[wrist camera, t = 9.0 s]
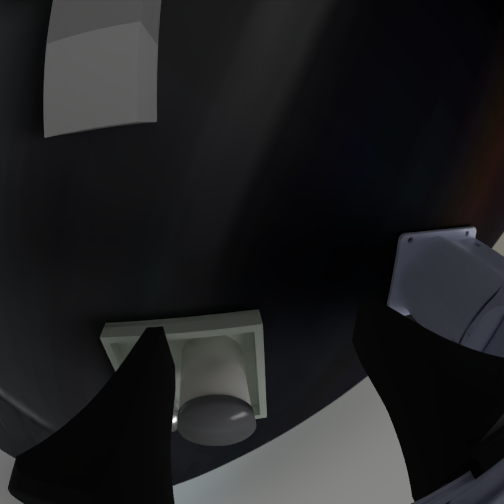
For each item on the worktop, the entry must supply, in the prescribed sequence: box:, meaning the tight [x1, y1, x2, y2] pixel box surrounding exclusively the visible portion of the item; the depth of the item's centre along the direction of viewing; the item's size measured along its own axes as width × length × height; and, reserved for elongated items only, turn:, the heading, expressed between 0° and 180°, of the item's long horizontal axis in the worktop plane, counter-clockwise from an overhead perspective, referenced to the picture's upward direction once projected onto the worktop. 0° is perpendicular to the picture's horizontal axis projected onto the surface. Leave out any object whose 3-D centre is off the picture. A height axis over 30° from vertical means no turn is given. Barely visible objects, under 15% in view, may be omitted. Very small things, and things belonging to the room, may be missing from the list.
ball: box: [171, 398, 179, 432], centre depth 23 cm, size 4×4×4 cm
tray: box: [100, 309, 267, 419], centre depth 23 cm, size 12×12×2 cm
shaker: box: [177, 335, 256, 446], centre depth 20 cm, size 5×5×7 cm
